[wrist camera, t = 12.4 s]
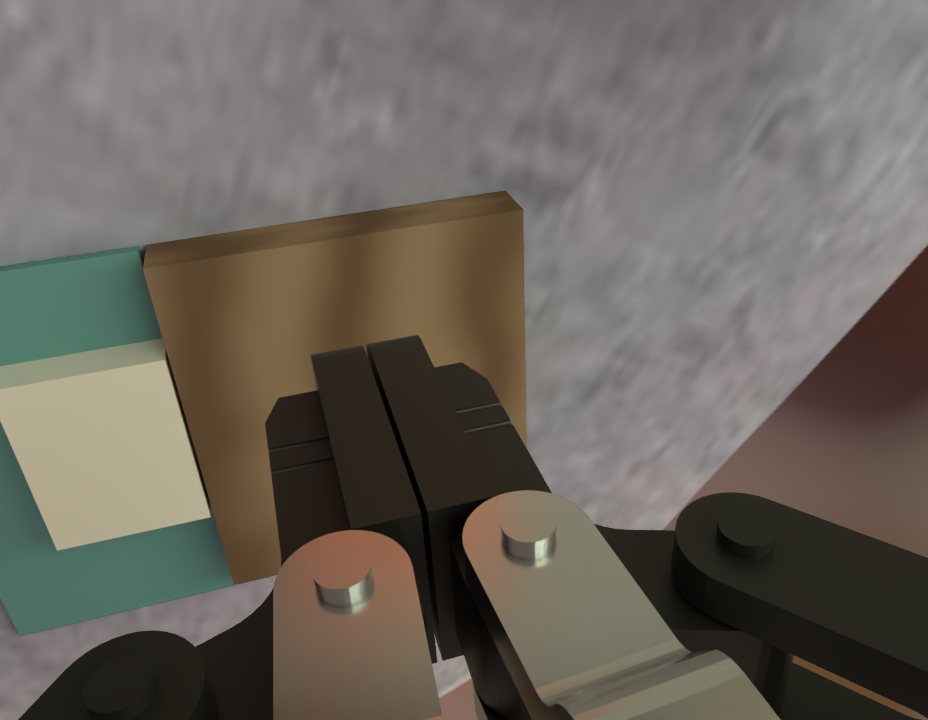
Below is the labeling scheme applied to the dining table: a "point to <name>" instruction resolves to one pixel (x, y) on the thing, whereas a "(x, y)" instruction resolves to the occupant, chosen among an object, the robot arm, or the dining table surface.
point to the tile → (103, 442)
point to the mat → (5, 487)
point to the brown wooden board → (327, 328)
